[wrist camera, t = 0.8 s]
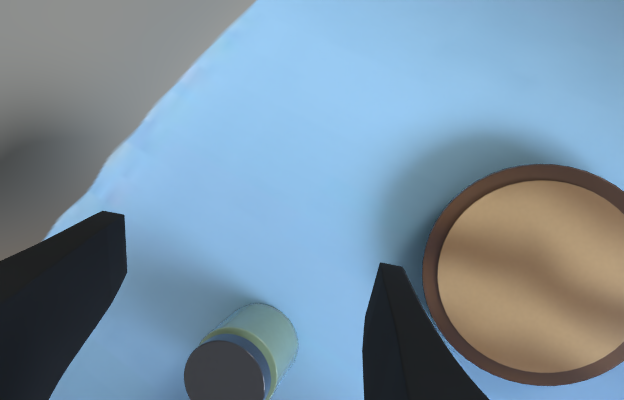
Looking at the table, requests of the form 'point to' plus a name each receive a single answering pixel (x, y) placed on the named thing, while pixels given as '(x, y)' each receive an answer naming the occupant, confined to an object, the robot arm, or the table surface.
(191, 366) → the jar
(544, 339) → the stand
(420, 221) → the table surface
